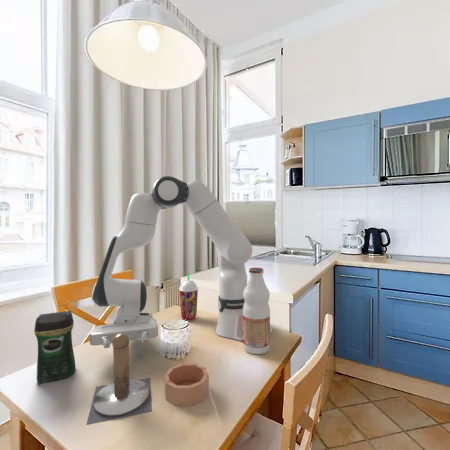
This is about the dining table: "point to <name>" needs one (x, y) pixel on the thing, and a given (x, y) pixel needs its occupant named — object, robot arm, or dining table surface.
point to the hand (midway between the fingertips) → (124, 343)
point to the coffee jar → (54, 346)
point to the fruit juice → (256, 314)
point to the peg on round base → (121, 385)
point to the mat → (145, 408)
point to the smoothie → (188, 299)
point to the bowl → (186, 384)
